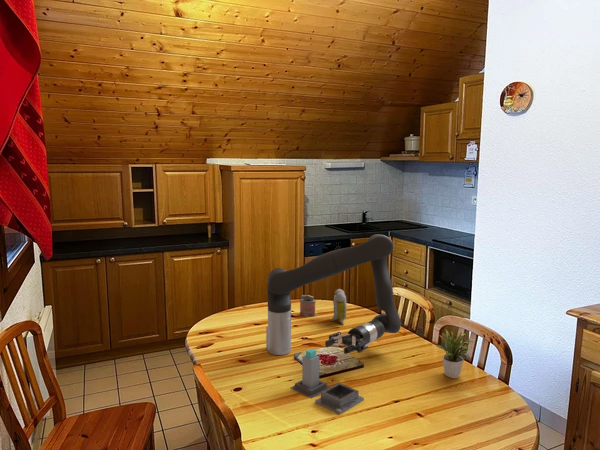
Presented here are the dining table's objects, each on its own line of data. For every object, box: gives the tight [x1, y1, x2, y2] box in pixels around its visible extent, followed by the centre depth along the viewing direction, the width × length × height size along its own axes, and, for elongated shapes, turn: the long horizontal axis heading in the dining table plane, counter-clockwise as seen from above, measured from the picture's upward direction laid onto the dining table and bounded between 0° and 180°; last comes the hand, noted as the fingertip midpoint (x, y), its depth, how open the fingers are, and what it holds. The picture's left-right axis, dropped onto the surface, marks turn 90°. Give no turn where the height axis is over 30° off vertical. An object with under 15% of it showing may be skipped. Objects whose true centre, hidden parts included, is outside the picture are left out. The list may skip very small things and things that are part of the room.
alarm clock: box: [330, 288, 347, 326], centre depth 219 cm, size 12×7×15 cm, turn 179°
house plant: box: [435, 329, 475, 379], centre depth 163 cm, size 14×14×16 cm
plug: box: [301, 348, 320, 389], centre depth 154 cm, size 4×4×13 cm
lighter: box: [299, 294, 317, 317], centre depth 229 cm, size 8×3×10 cm, turn 71°
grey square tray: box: [289, 379, 331, 400], centre depth 155 cm, size 10×10×2 cm
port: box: [314, 382, 365, 415], centre depth 146 cm, size 10×12×4 cm
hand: (335, 347), depth 162 cm, fingers open, 8 cm apart
